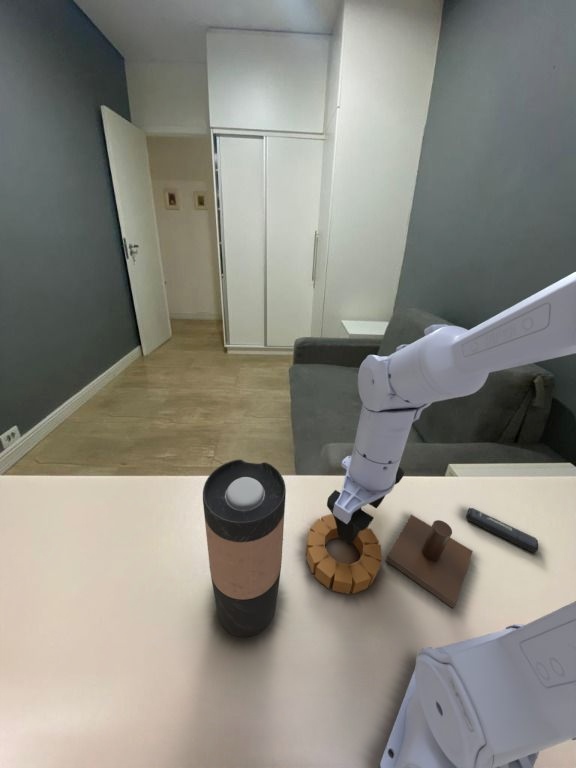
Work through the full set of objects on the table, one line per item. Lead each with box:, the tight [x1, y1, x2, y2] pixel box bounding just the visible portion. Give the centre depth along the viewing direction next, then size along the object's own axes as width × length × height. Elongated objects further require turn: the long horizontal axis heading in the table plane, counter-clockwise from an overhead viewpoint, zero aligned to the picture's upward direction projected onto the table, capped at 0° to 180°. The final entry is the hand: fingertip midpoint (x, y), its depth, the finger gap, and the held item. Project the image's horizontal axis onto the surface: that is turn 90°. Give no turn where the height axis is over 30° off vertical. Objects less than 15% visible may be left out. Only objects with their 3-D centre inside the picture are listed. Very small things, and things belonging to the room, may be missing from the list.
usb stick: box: [465, 507, 539, 553], centre depth 48 cm, size 10×3×2 cm, turn 54°
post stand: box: [385, 514, 474, 609], centre depth 42 cm, size 9×9×7 cm
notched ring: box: [305, 513, 383, 595], centre depth 43 cm, size 10×10×2 cm
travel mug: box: [202, 459, 287, 638], centre depth 33 cm, size 8×8×20 cm
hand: (359, 519), depth 44 cm, fingers open, 7 cm apart
